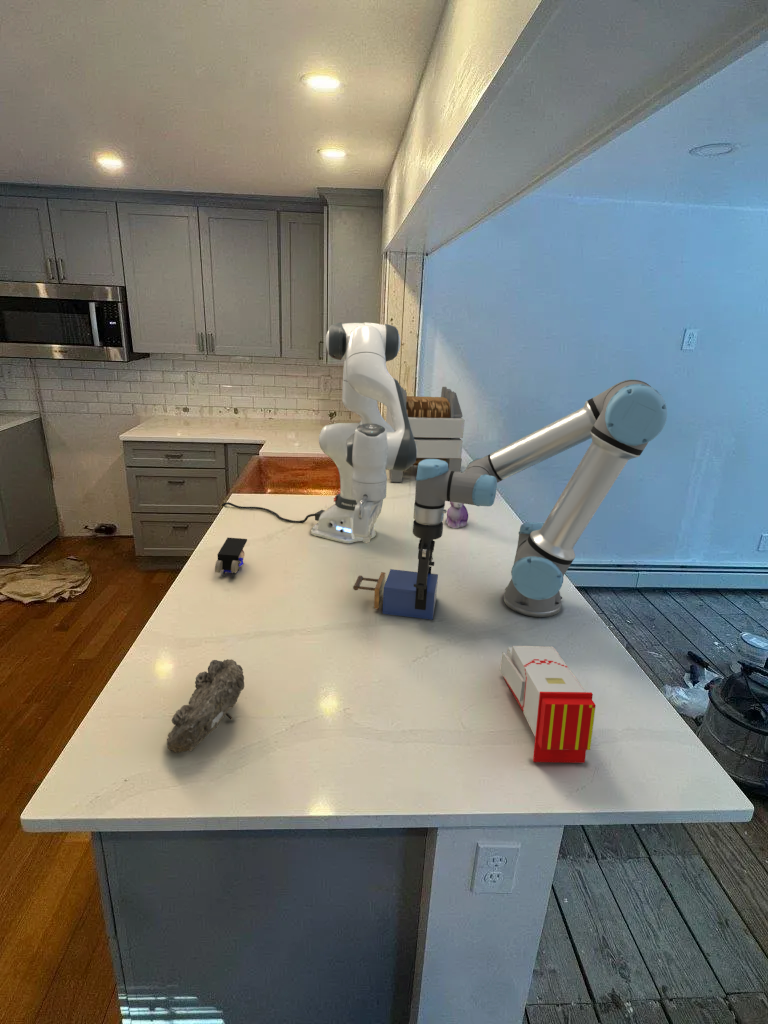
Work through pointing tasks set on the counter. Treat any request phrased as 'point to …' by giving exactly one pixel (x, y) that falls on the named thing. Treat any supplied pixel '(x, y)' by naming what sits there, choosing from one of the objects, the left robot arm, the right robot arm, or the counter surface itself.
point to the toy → (550, 702)
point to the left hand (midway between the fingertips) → (367, 540)
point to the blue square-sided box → (408, 594)
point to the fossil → (206, 705)
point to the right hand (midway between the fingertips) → (422, 598)
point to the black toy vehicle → (230, 556)
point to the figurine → (457, 515)
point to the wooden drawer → (378, 589)
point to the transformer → (434, 429)
